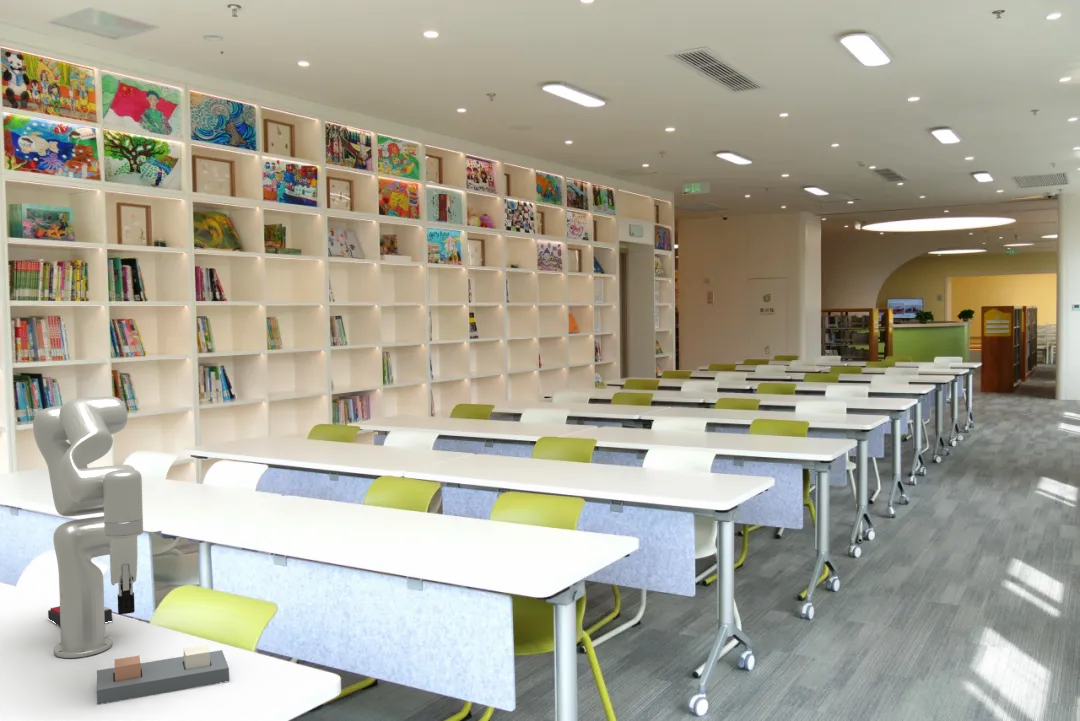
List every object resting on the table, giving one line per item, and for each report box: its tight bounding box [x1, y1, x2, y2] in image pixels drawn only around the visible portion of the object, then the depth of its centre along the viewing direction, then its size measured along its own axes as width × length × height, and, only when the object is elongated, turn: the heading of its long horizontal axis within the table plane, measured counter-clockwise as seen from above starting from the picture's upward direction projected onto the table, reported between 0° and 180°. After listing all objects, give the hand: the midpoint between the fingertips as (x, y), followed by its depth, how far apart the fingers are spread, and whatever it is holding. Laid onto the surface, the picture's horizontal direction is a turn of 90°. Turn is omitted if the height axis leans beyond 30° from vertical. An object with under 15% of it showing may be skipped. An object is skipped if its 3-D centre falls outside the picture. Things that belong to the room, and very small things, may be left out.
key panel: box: [96, 649, 230, 705], centre depth 194 cm, size 12×26×3 cm, turn 116°
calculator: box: [47, 605, 113, 627], centre depth 236 cm, size 11×4×15 cm
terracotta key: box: [113, 655, 142, 682], centre depth 191 cm, size 5×5×4 cm
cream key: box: [183, 644, 211, 670], centre depth 197 cm, size 5×5×4 cm
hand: (126, 612), depth 190 cm, fingers closed
